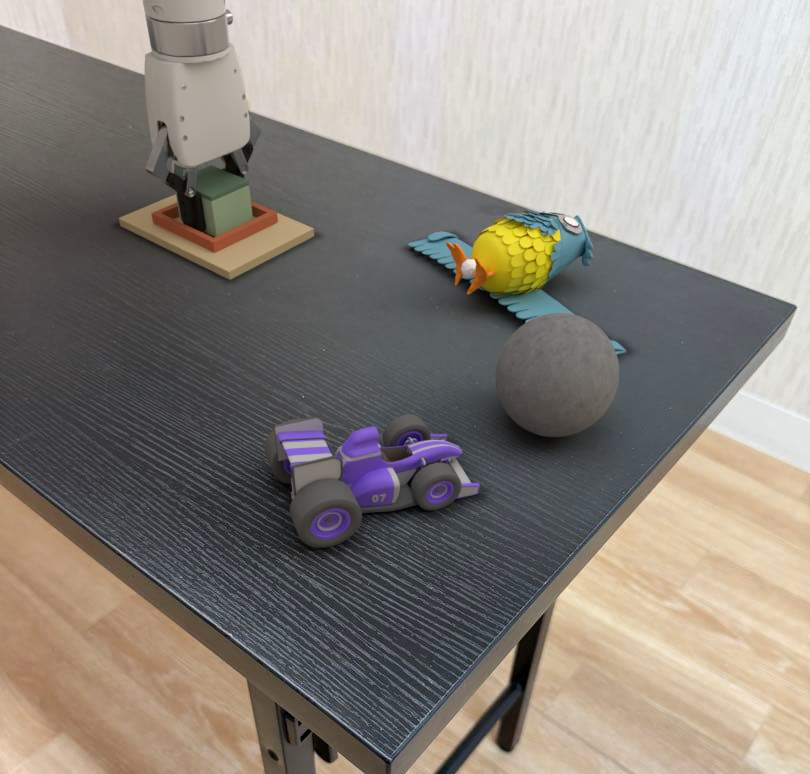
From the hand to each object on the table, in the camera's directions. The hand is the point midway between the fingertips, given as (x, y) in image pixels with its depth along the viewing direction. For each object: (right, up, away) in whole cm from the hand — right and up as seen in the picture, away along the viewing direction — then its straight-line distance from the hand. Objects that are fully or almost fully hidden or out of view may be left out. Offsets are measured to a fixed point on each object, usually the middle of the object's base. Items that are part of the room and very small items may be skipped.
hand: (215, 216), depth 90 cm
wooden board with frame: (0, -1, +1) cm, 2 cm away
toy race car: (+19, -32, -27) cm, 46 cm away
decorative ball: (+33, -26, -20) cm, 47 cm away
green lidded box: (0, 0, 0) cm, 1 cm away
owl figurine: (+33, -11, -6) cm, 35 cm away
